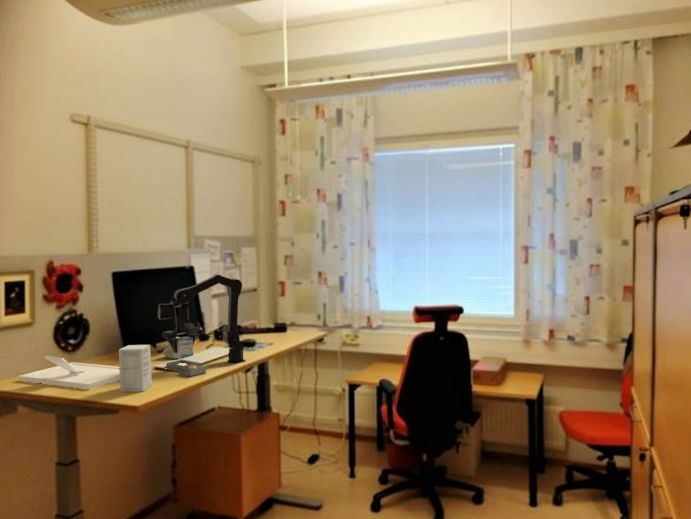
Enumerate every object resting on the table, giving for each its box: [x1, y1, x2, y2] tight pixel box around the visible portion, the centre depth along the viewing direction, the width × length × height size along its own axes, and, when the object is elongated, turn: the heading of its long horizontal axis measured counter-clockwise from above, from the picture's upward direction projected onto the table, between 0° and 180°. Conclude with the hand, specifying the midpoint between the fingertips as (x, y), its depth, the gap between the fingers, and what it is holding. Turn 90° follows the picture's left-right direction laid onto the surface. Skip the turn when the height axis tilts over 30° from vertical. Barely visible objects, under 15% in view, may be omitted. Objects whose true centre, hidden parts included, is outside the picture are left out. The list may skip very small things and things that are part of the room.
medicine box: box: [174, 336, 194, 360], centre depth 262 cm, size 8×4×9 cm, turn 148°
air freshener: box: [162, 336, 181, 360], centre depth 286 cm, size 11×8×10 cm
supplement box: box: [118, 344, 153, 393], centre depth 227 cm, size 10×9×17 cm
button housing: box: [178, 365, 207, 378], centre depth 250 cm, size 8×8×3 cm
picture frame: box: [18, 355, 120, 390], centre depth 247 cm, size 40×12×28 cm
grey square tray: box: [163, 358, 203, 373], centre depth 262 cm, size 12×14×2 cm
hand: (183, 351), depth 262 cm, fingers closed on medicine box, 8 cm apart
